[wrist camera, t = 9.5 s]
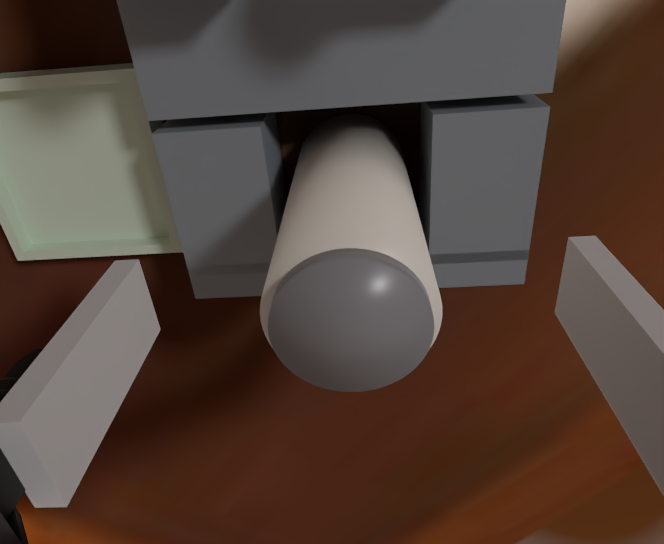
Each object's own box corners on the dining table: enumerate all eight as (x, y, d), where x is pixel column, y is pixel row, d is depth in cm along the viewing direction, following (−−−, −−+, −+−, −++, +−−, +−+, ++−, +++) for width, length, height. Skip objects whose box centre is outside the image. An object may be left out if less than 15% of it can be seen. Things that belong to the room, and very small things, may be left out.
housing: (112, -193, 17) (-10, -272, 12) (556, -243, 16) (672, -359, 11) (215, 256, 27) (176, 340, 21) (501, 241, 26) (546, 325, 20)
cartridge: (292, 117, 23) (241, 254, 12) (403, 109, 23) (450, 243, 12) (304, 216, 26) (270, 401, 15) (403, 211, 25) (442, 396, 14)
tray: (-40, 76, 22) (-66, 83, 21) (148, 61, 22) (134, 68, 20) (34, 245, 27) (17, 260, 26) (192, 237, 26) (183, 252, 25)
